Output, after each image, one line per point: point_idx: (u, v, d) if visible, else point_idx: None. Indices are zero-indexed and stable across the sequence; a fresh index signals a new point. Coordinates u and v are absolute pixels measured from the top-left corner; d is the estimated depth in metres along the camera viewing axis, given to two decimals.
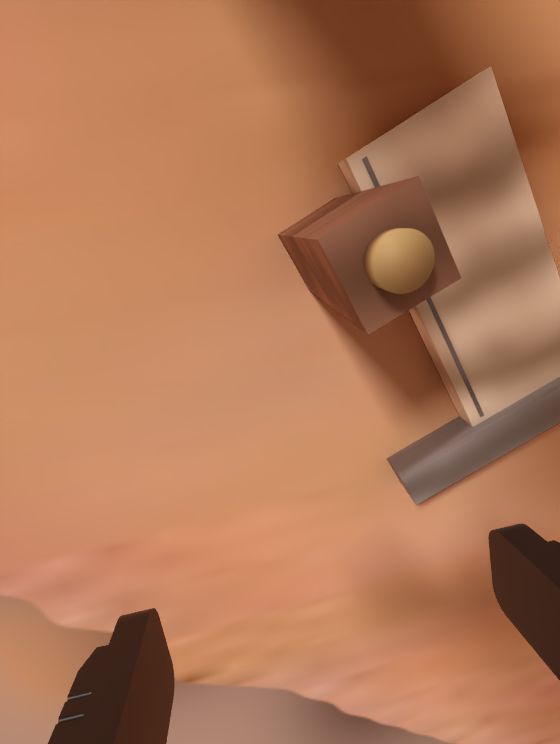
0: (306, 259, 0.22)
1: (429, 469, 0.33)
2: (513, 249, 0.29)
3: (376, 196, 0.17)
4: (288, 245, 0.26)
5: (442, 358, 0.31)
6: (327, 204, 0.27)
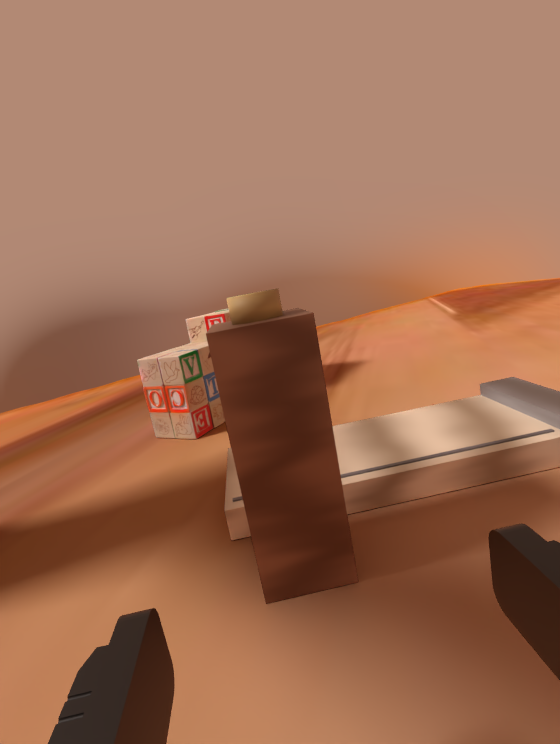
0: (265, 459, 0.18)
1: None
2: (363, 430, 0.33)
3: None
4: (270, 552, 0.19)
5: (468, 456, 0.26)
6: None
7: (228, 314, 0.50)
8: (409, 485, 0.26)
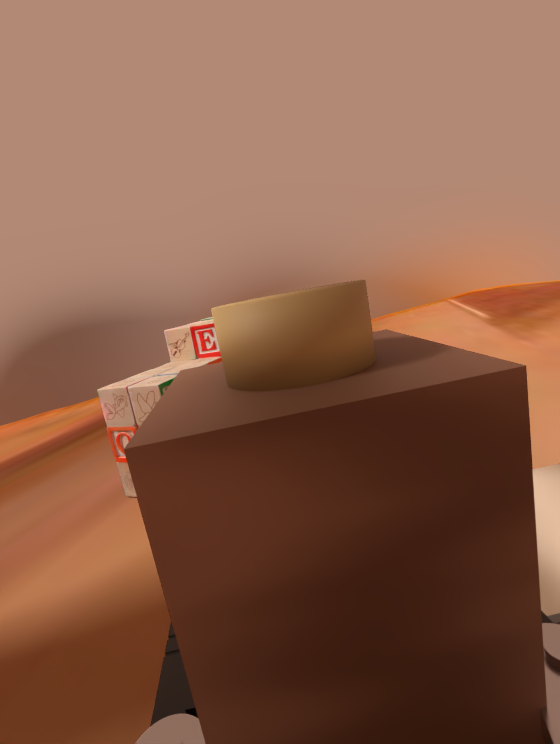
0: None
1: None
2: None
3: None
4: None
5: None
6: None
7: None
8: None
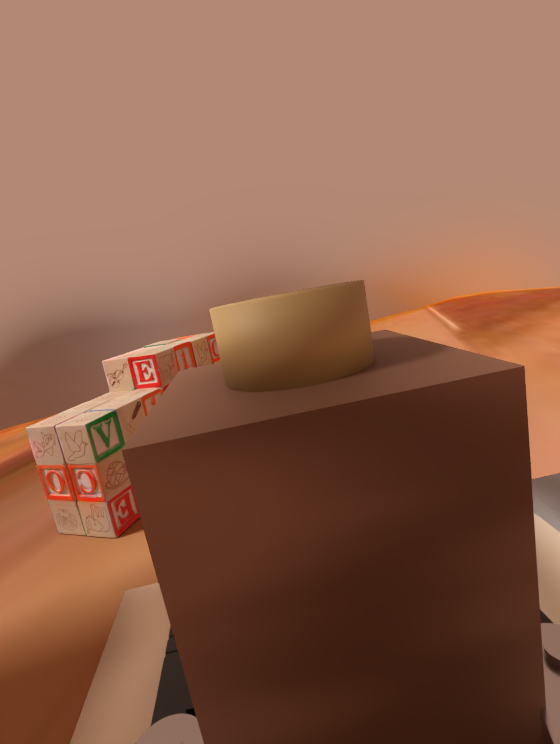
0: None
1: None
2: None
3: None
4: None
5: None
6: None
7: (160, 354, 0.37)
8: None
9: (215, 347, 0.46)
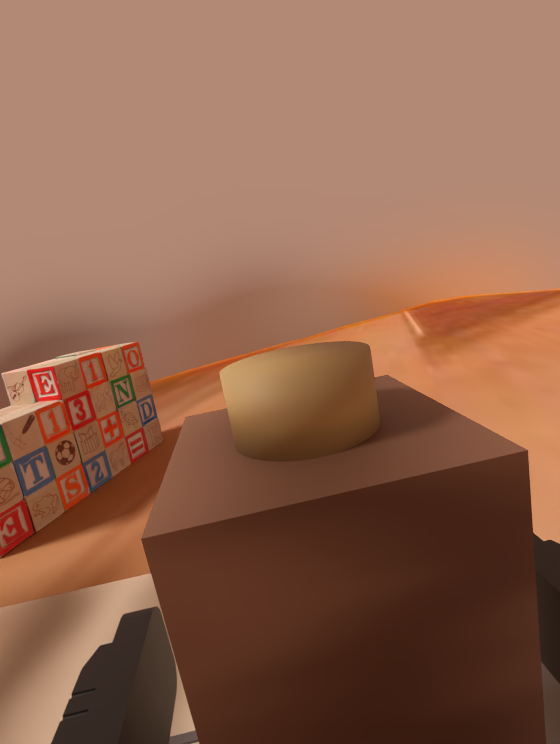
0: None
1: None
2: None
3: None
4: None
5: None
6: None
7: (61, 366, 0.37)
8: None
9: (132, 357, 0.46)
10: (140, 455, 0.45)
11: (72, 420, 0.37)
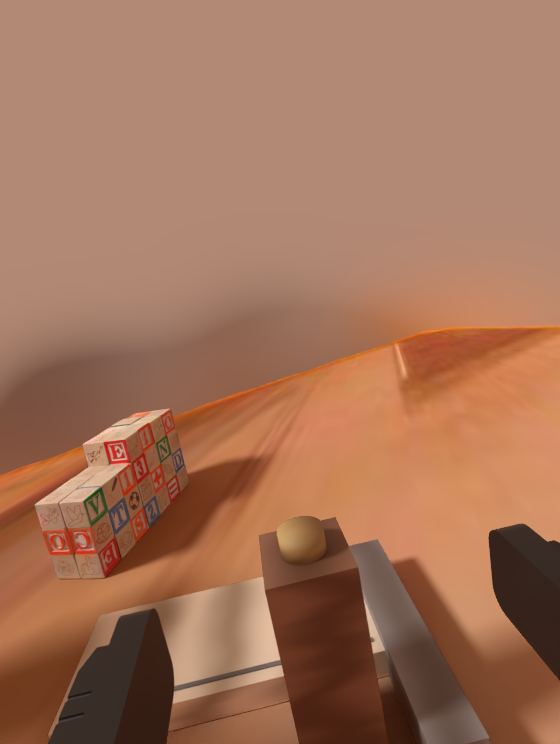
0: (314, 686, 0.21)
1: (423, 704, 0.23)
2: (222, 605, 0.34)
3: None
4: None
5: None
6: None
7: (129, 438, 0.51)
8: (228, 703, 0.27)
9: (167, 422, 0.61)
10: (175, 496, 0.60)
11: (136, 476, 0.52)
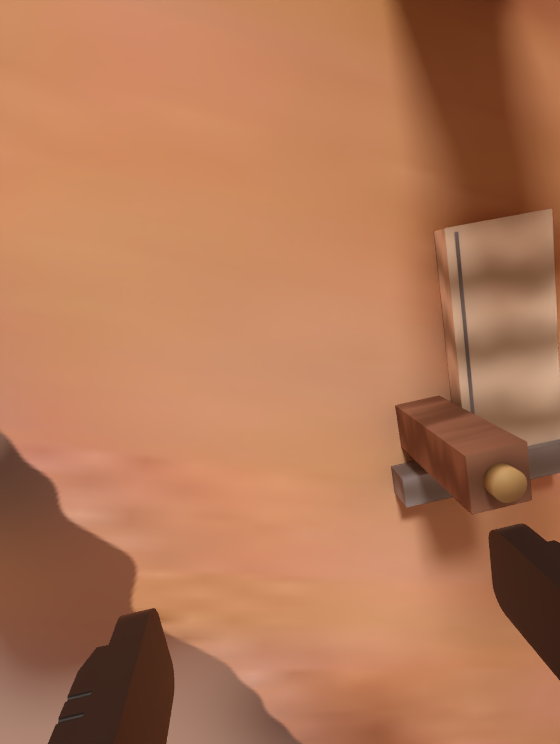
0: (429, 443, 0.35)
1: (426, 480, 0.40)
2: (533, 333, 0.39)
3: (496, 437, 0.30)
4: (406, 420, 0.39)
5: (461, 394, 0.40)
6: (435, 400, 0.40)
7: None
8: (451, 352, 0.40)
9: None
10: None
11: None
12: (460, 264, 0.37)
